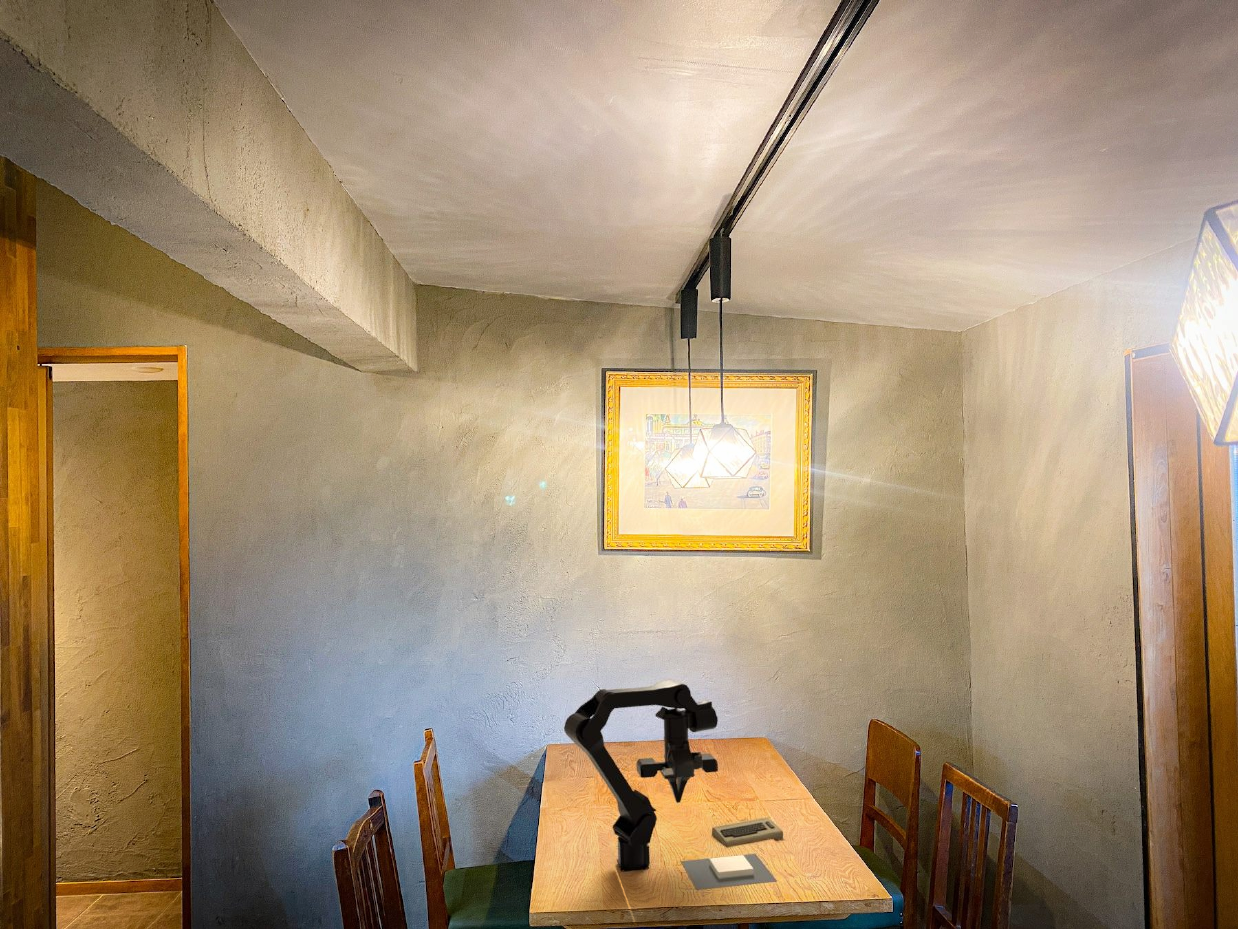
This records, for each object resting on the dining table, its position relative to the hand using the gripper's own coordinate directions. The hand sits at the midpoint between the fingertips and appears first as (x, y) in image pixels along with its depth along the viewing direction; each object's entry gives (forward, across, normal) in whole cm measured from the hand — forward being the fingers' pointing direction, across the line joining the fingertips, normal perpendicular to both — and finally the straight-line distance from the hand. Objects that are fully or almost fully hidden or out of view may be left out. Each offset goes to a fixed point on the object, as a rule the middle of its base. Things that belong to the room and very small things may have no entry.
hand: (678, 802), depth 185 cm
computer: (+13, +19, +6) cm, 23 cm away
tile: (+11, +5, -12) cm, 17 cm away
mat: (+12, +8, -12) cm, 19 cm away
